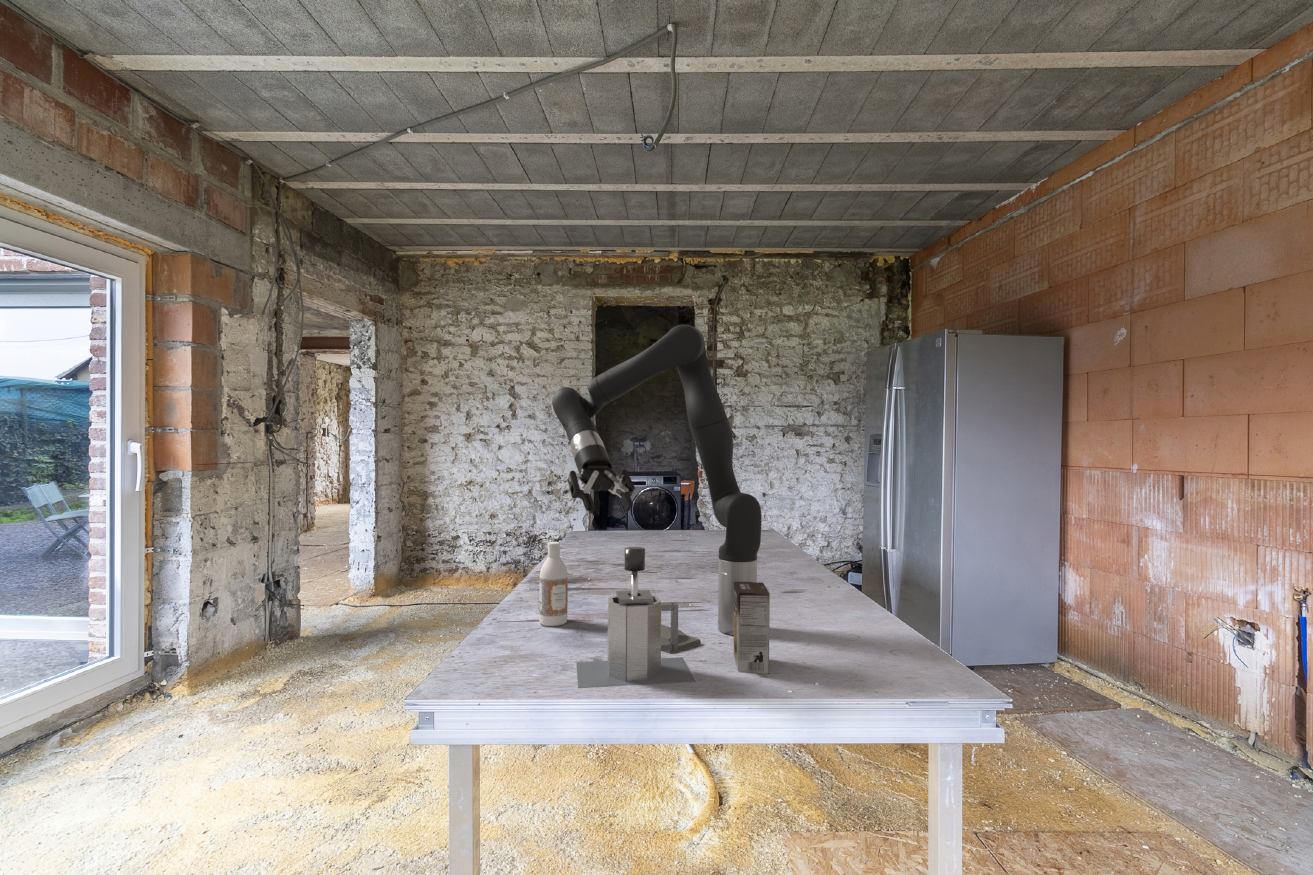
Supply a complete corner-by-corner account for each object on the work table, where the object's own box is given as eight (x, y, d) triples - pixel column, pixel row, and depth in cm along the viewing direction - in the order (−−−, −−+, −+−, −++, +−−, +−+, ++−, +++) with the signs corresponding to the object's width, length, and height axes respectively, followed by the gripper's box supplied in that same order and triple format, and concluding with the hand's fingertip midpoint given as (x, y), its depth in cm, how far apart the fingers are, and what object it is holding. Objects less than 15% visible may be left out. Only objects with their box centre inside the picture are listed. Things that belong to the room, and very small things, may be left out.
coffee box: (732, 657, 129) (733, 580, 129) (763, 658, 128) (763, 581, 129) (736, 673, 120) (737, 591, 120) (769, 674, 119) (770, 591, 119)
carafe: (672, 660, 126) (673, 587, 126) (682, 678, 116) (682, 599, 116) (606, 663, 123) (607, 589, 124) (610, 682, 114) (611, 602, 114)
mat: (682, 659, 127) (682, 657, 127) (696, 683, 115) (696, 681, 115) (576, 664, 124) (576, 662, 124) (578, 689, 111) (578, 687, 111)
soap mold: (643, 627, 151) (643, 613, 151) (702, 648, 136) (702, 632, 136) (610, 636, 144) (610, 621, 144) (668, 658, 129) (668, 642, 129)
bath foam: (545, 628, 148) (546, 545, 148) (534, 621, 153) (535, 541, 154) (571, 624, 151) (572, 543, 152) (560, 617, 157) (560, 539, 157)
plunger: (648, 651, 123) (649, 545, 123) (653, 663, 116) (654, 551, 117) (615, 652, 122) (615, 546, 122) (618, 665, 115) (619, 552, 116)
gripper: (613, 465, 145) (634, 519, 135) (556, 466, 138) (574, 522, 128) (623, 443, 141) (646, 497, 131) (564, 443, 134) (584, 499, 124)
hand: (610, 509), depth 129 cm, fingers open, 8 cm apart
